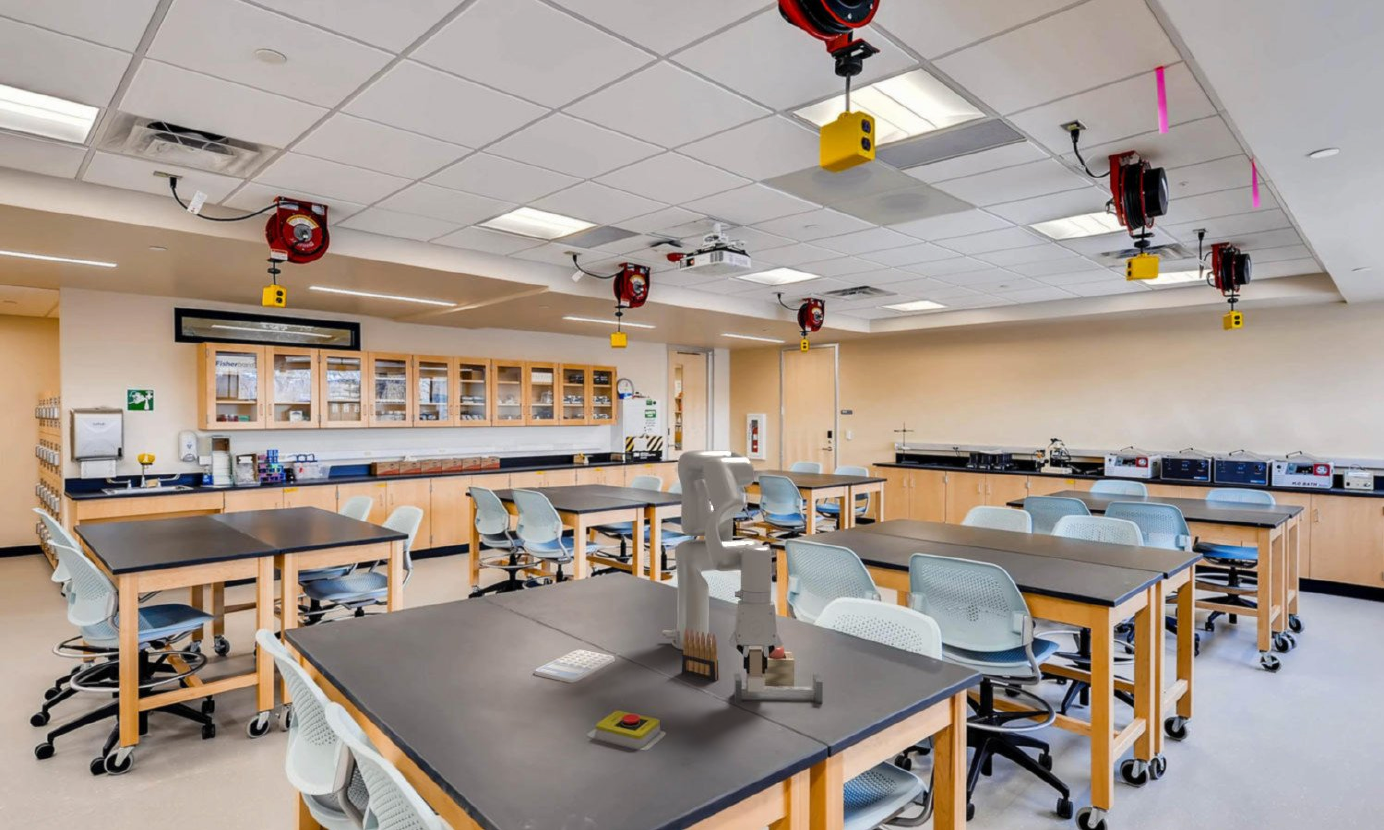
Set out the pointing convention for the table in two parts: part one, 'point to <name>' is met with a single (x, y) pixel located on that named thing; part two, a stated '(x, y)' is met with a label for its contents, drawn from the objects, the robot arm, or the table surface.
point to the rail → (780, 691)
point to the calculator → (574, 666)
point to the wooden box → (780, 671)
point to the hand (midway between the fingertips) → (755, 671)
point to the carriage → (755, 671)
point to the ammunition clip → (700, 657)
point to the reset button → (778, 653)
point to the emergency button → (628, 730)
